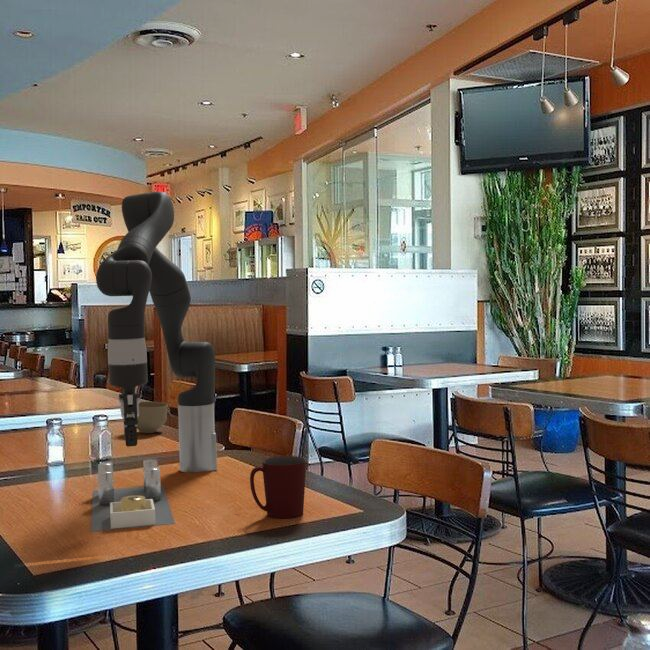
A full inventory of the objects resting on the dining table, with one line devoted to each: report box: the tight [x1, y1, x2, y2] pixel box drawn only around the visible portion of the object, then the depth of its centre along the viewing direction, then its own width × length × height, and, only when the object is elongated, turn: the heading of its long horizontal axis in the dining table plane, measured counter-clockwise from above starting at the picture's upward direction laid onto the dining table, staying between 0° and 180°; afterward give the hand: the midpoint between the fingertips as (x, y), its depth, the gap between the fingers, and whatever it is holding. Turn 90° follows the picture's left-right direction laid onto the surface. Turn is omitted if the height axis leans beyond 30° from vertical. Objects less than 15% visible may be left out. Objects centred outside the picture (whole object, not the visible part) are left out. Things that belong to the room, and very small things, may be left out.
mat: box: [90, 484, 176, 533], centre depth 173 cm, size 16×34×1 cm, turn 15°
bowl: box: [137, 401, 169, 434], centre depth 268 cm, size 13×13×10 cm
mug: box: [249, 455, 307, 519], centre depth 165 cm, size 12×9×11 cm
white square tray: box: [110, 499, 155, 529], centre depth 162 cm, size 8×8×3 cm
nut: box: [121, 495, 146, 512], centre depth 162 cm, size 5×5×4 cm
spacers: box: [97, 458, 162, 506], centre depth 181 cm, size 13×12×7 cm
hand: (130, 442), depth 161 cm, fingers open, 8 cm apart
